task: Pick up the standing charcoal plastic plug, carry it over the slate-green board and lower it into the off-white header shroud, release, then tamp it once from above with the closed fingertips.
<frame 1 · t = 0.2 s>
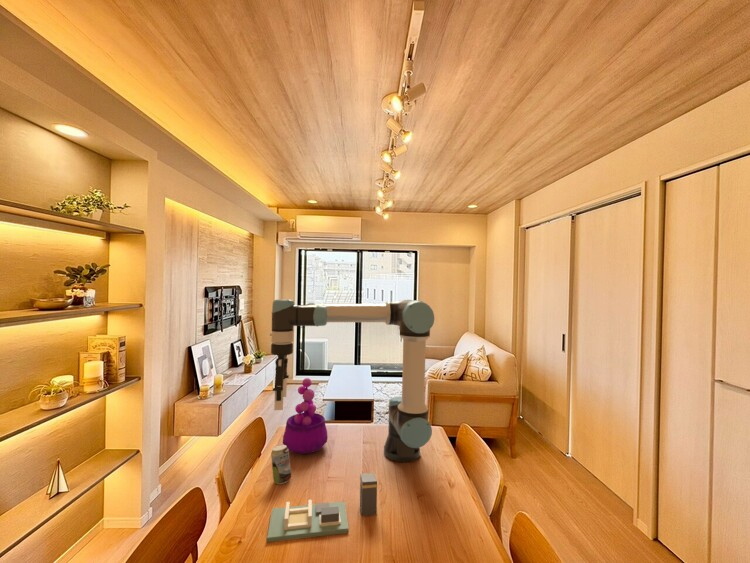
hand: (280, 402, 116), 28 cm above the table, fingers open, 13 cm apart
beverage can: (280, 481, 116), on the table
decorative plant: (305, 449, 141), on the table
plug: (367, 510, 102), on the table
board: (308, 522, 96), on the table
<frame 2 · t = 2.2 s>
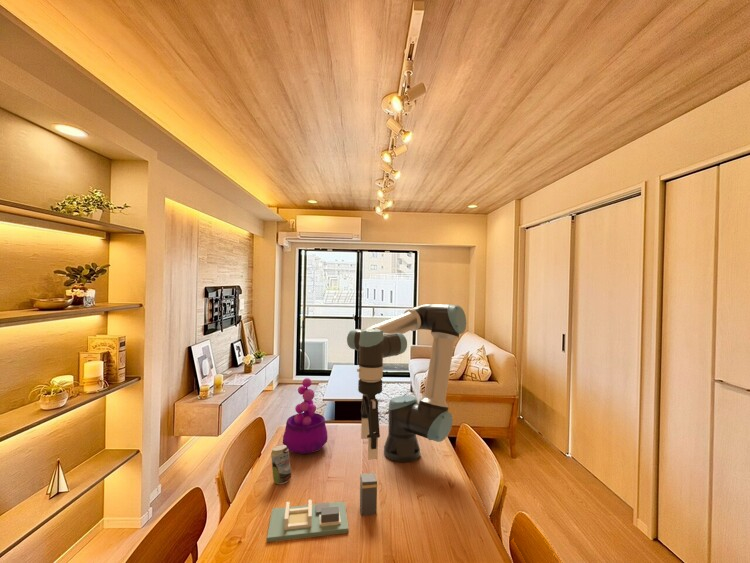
hand: (368, 447, 102), 19 cm above the table, fingers open, 13 cm apart
nothing on the table moved.
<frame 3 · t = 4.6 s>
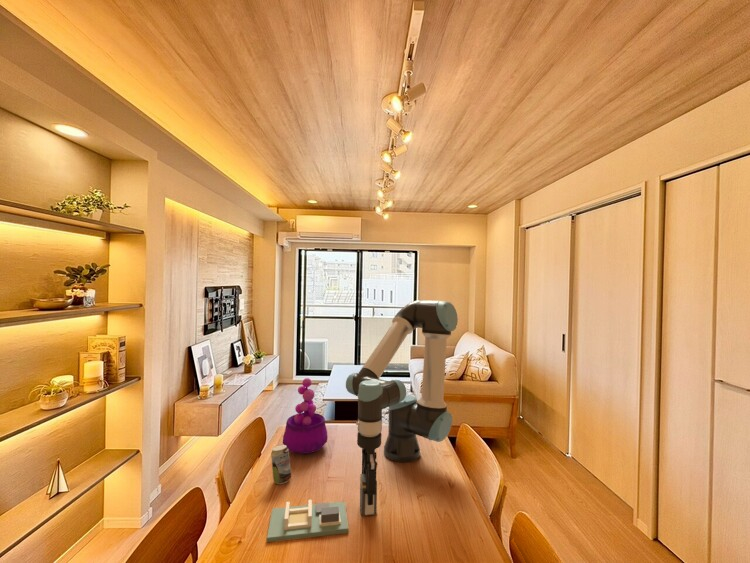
hand: (368, 507, 102), 1 cm above the table, fingers closed on plug, 4 cm apart
plug: (367, 510, 102), on the table, touching gripper
everything else where it was.
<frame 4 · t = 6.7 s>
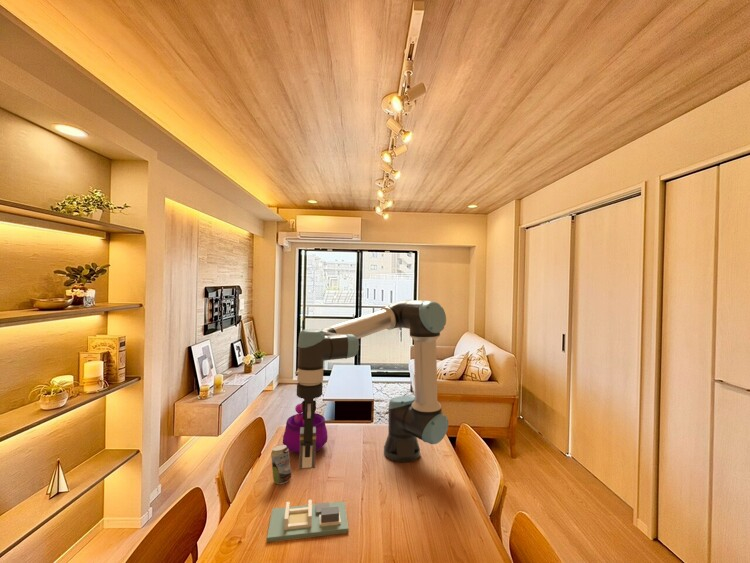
hand: (306, 462, 97), 17 cm above the table, fingers closed on plug, 4 cm apart
plug: (306, 464, 96), point 17 cm above the table, touching gripper
everything else where it was.
when the fingers open (3 cm above the table, at t = 9.2 s): plug drops 1 cm, resting on board.
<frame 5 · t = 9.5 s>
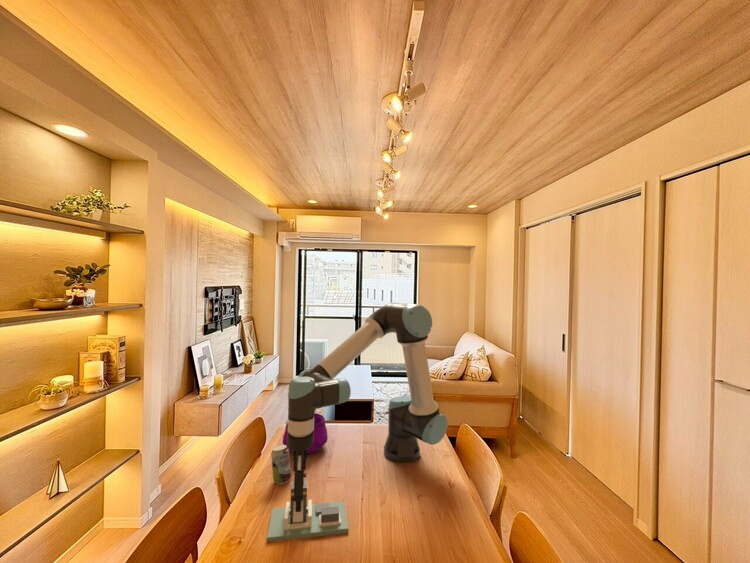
hand: (298, 510, 96), 4 cm above the table, fingers open, 8 cm apart
plug: (298, 518, 96), point 1 cm above the table, touching board
everything else where it was.
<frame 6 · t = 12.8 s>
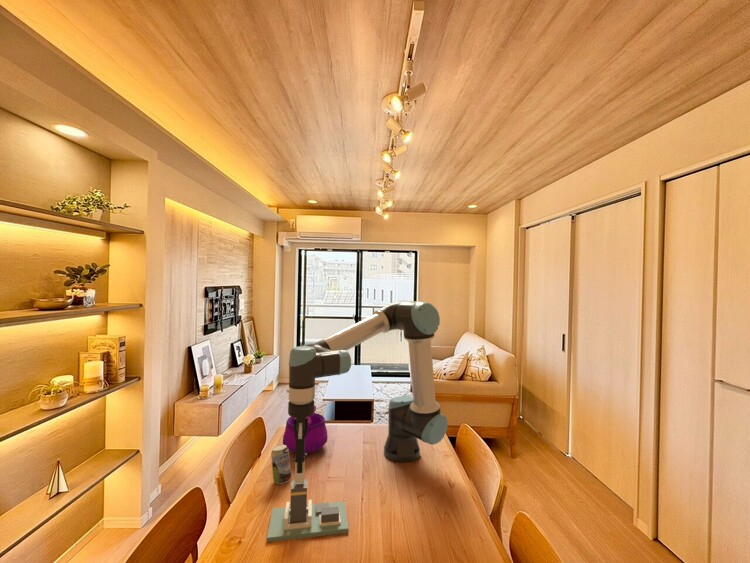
hand: (299, 481, 96), 12 cm above the table, fingers closed
nothing on the table moved.
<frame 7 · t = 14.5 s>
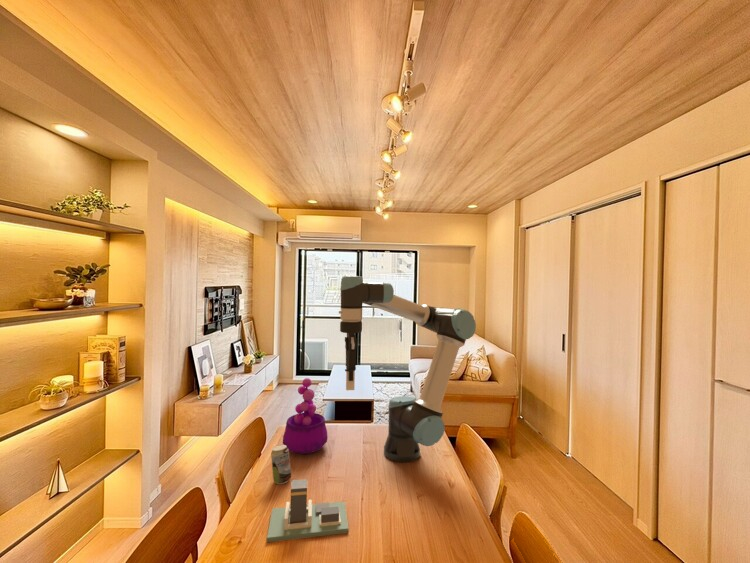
hand: (350, 389, 113), 34 cm above the table, fingers closed
nothing on the table moved.
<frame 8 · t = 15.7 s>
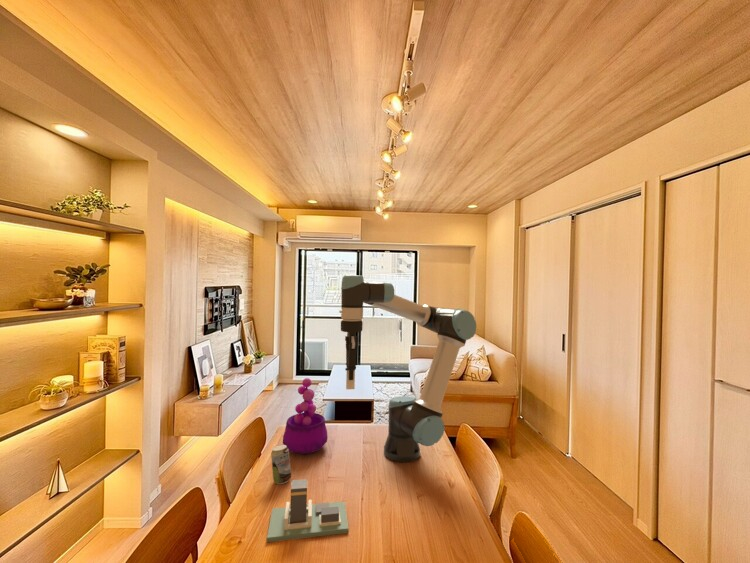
hand: (350, 388, 113), 34 cm above the table, fingers closed
nothing on the table moved.
at the end: plug 0.0 cm from the target spot on the board, point 1.3 cm above the board's base; plug tilted 0°; the gripper is holding nothing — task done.
